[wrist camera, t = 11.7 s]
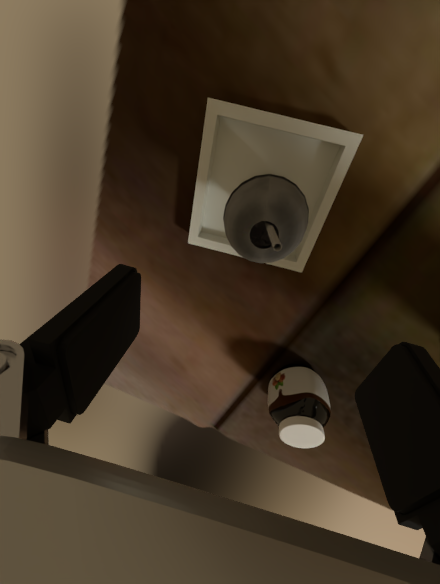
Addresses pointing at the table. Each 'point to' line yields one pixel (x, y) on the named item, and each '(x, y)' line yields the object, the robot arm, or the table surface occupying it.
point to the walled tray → (266, 169)
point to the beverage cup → (266, 218)
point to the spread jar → (299, 405)
